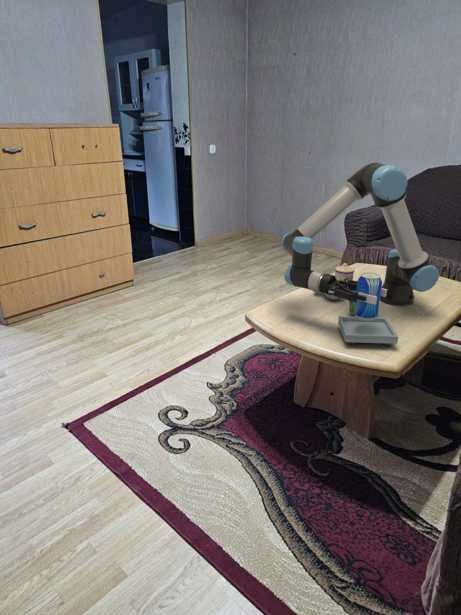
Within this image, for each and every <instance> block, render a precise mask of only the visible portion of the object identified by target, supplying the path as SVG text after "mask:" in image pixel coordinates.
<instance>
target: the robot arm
mask: <svg viewBox="0 0 461 615" xmlns="http://www.w3.org/2000/svg"><path fill="white" fill-rule="evenodd" d="M407 187H408V178H407V175H406V173H405V172H404V170H402V169H401V168H399V167H397V166H396V165H392V164H384V163H380V162H372V163H368V164H366V165H364V166H363V167H361V168H360V169H359V170H357V171H356V172H354V173H353V174H352V175H351V176H350V177H349V178H348V179H347V180H346V181H345V182H344V185H343V186H342V187H341V188H340V190H338V191H337V192H336V193H335V194H334V195H333V196H332V197H330V198H329V199H328V201H326V202H324V203H323V205H321V206H320V207H319V208H318V209H317V210H316V211H315V212H314V213H313V214H312V215H311V216H309V217H308V218H307V219H306V220H305V221H304V222H303V223H302V224H300V225H299V226H298V227H297V228H296V229H295V230H293V232H288V233H286V234H284V235H283V237H282V239H281V246H282V248H283V249H284V250H285V252H287V253H288V254H289V255H290V256H291V265H289V266H287V268H286V269H285V273H284V281H285V283H286V284H288V285H290V286H293V287H295V288H296V287H297V288H300V289H306V290H309V291H312V290H313V291H312V292H314V293H315V292H316V291H317V292H321V294H324V295H325V294H328V295H333V296H336V297H339V298H340V299H341V300H342V299H343V300H345V301H348V302H349V301H353V300H354V301H353V302H357V300H359V301H363V302H367V303H371V304H375V305H376V302H377V297H376V296H372V295H368V294H363V293H360V292H359V293H358V294H357V293H356V292H354V291H356V288H357V280H354V279H353V280H349V279H344V281H343V280H339V281H338V280H337V279H336V277H335V274H331V273H325V272H323V271H319V270H318V271H317V270H313V269H312V260H313V259H312V258H313V251H314V243H313V239H314V238H316V237H317V236H318V235H319V234H320V233H321V232H322V231H323V230H325V229H326V228H327V227H328V226H330V224H332V222H334V221H336V219H337V218H339V216H341V214H343V213H344V212H345V211H346V210H347V209H349V208H350V207H351V206H352V205H353V204H354V203H355V202H357V201H361V200H363V199H364V198H365V197H366V196H369V195H371V199H372V201H373V203H374V206H375V208H377V209H380V210H381V212H382V215H383V217H384V220H385V223H386V224H387V225H386V226H387V228H388V231H389V233H390V236H391V240H393V243H394V246H395V248H394V249H391V250H390V251H389V252H388V255H387V262H386V268H385V275H384V276H385V277H384V281H383V282H382V289H381V296H380V302H383V303H385V304H388V305H393V306H410V305H412V304H413V303H414V300H415V294H414V291H416V292H418V293H419V292H420V293H424V292H428V291H429V290H431V289H432V288H434V286H436V284H437V282H438V281H439V279H440V272H439V271H440V270H439V269H438V268H437V267H436V266H435V265H433V264H432V263H431V259H430V257H429V253H427V252H426V251H423V250H422V247H421V244H420V241H419V238H418V235H417V233H416V230H415V227H414V224H413V222H412V218H411V215H410V213H409V210H408V207H407V204H406V202H405V199H406V198H407V196H408V195H407V194H408V193H407V190H406V189H407ZM347 287H348V289H347ZM352 290H354V291H352Z"/></svg>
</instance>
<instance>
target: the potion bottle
mask: <svg viewBox="0 0 461 615" xmlns="http://www.w3.org/2000/svg"><path fill="white" fill-rule="evenodd" d="M338 281H339V280H338ZM311 291H312V292H314V291H313V290H311ZM314 293H315V294H318V295H319V296H320V295H321V294H322V293H321V292H317V291H316V292H314ZM324 295H325V297H326V298H327V299H328V300H330V301H339V300H340V299H341V298H339V297H336V296H333V295H328V294H324Z"/></svg>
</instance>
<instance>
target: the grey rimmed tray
mask: <svg viewBox="0 0 461 615" xmlns="http://www.w3.org/2000/svg"><path fill="white" fill-rule="evenodd" d="M337 324H338V326H339V330H340V331H341V334H342V337H343V340H344V343H347V345H348V346H349V347H353V346H354V345H355V343H362V344H363V343H365V344H366V343H367V344H383V345H384V346H385V348H390V347H391V346H392V345H393V344H396V345H397V344H398V340H399V335H398V333H397V332H396V331H395V328H394V327H393V326H392V325H391V323H390V321H389V319H388V318H387V317H378V316H377V317H376V318H375V319H374V320H371V321H364V320H360V319H358V318H356V317H355V316H345V315H344V316H341V315H340V316H339V315H338V319H337Z"/></svg>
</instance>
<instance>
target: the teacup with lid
mask: <svg viewBox="0 0 461 615" xmlns="http://www.w3.org/2000/svg"><path fill="white" fill-rule="evenodd" d="M334 271H335V272H334V276H335V277H336V279H337V280H343V281H344V279H349V280H354V274H355V268H354V267H353V266H352V267H351V266H350V265H348V263H346V262H345V263H342V265H338V266H336V267H335V269H334ZM347 289H348V287H347Z"/></svg>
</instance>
